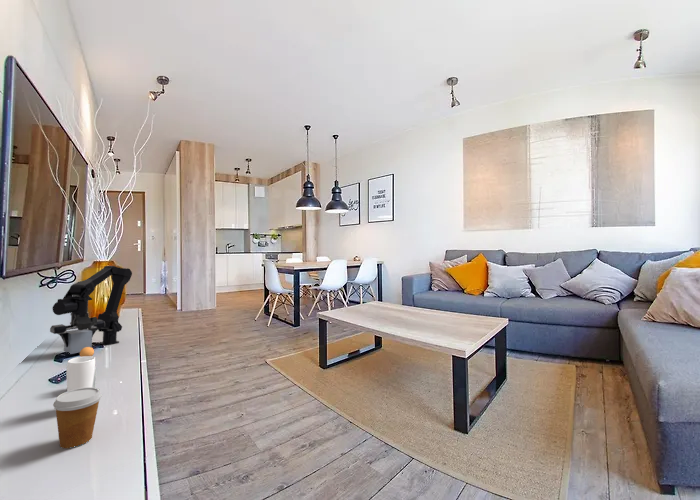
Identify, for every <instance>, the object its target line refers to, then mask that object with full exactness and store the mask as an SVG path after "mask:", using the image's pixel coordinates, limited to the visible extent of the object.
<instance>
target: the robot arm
mask: <svg viewBox="0 0 700 500" xmlns="http://www.w3.org/2000/svg"><path fill="white" fill-rule="evenodd" d="M132 276H133V271H132V270H131V269H130V268H126V267H125V268H124V267H123V268H122V267H118V266H115V265H105V266H103V268H102V269H100V270H99V271H97V272H95V273H94V274H93V275H91V276H89V277H88V278H86V279H85V280H81V281H78V282H75V283H73V284H71V285H70V287H69V289H68V290H67V292H66V293H65V295H64V296H63V297H62V298H58V299H57V301H56V302H55V303H54V304H53V306H52V308H51V309H52V313H54V315H56V316H61V315H67V314H70V316H71V317H70V322H69V324H70V325H65V324H55V325H51V326H50V329H49V332H50V333H51V334H54V335H59V336H60V338H61V339H62V342H63V345H64V344H65V346H66V347H68V332H67V331H71V330H83V329H88V330H91V331H92V338H93V337H94V336H95V335H94V334H95V333H96V332H102V341H99V344H101V345H104V346H107V345H113V344H118V343H120V341H119V340H117V337H118V332H120V331H122V328H123V326H122V324H121V323H120V322H119V315H118V309H119V306H120V303H121V302H120V301H121V299H122V296H123V295H122V294H123V292H124V289H125V285H127V283H129V282H130V281H131V277H132ZM109 277H111V281H112V287H111V290H110V294H109V297H108V301H107V303H106V307H105V309H104V311H103V312H102V313H99V314H98V315H97V316H91V317H90V315H89V312H88V310H89V301H92V300H93V297H91V296H90V295H91V294H92V293H93V292H94V291H95V289H96V287H97V286H99V284H100V285H101V283H103V281H105V280H107V279H108V278H109Z"/></svg>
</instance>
